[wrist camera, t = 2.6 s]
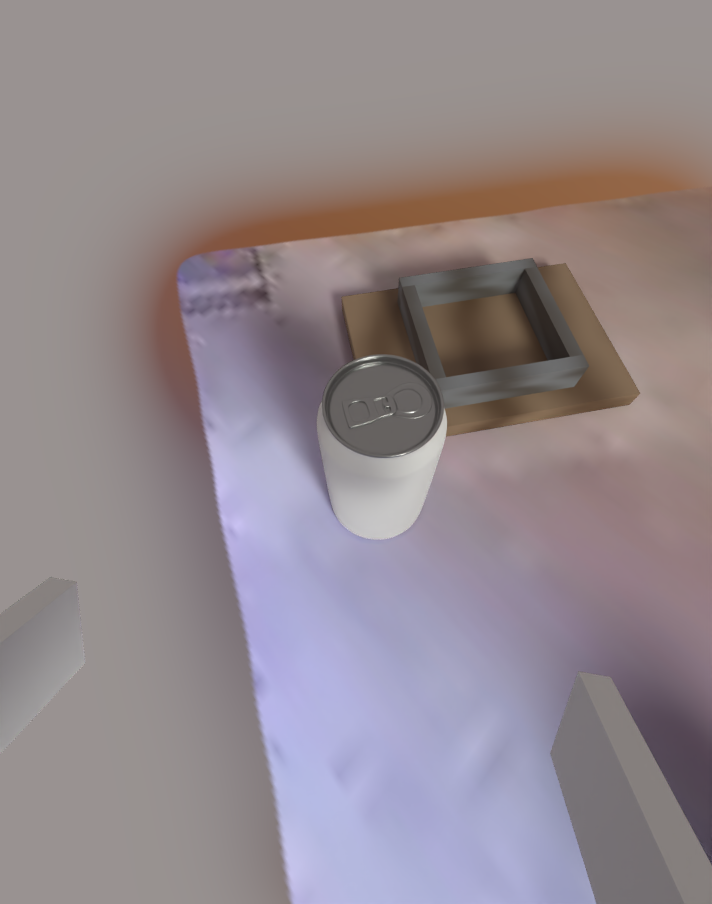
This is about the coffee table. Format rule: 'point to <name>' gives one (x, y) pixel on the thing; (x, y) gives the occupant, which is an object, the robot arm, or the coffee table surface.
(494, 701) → the coffee table surface
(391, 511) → the can
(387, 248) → the coffee table surface
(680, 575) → the coffee table surface
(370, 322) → the wooden board with frame
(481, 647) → the coffee table surface
